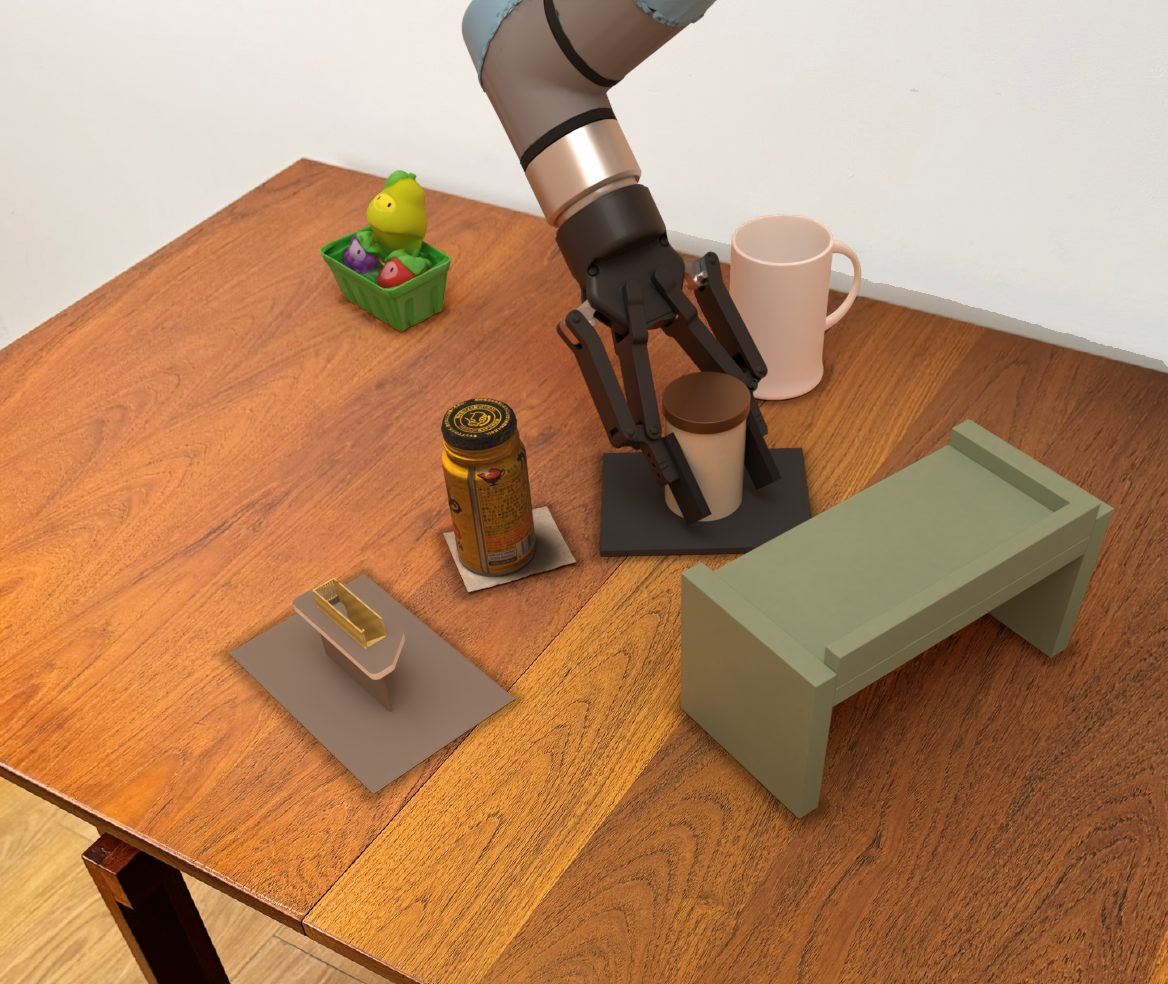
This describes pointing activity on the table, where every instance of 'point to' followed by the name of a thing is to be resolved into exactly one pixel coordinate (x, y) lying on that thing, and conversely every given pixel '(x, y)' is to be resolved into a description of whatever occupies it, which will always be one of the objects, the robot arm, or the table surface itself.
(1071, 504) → the stand
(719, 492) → the spice jar
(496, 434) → the condiment
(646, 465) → the mat
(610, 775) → the table surface
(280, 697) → the platform
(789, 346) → the mug
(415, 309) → the fruit basket
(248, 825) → the table surface
